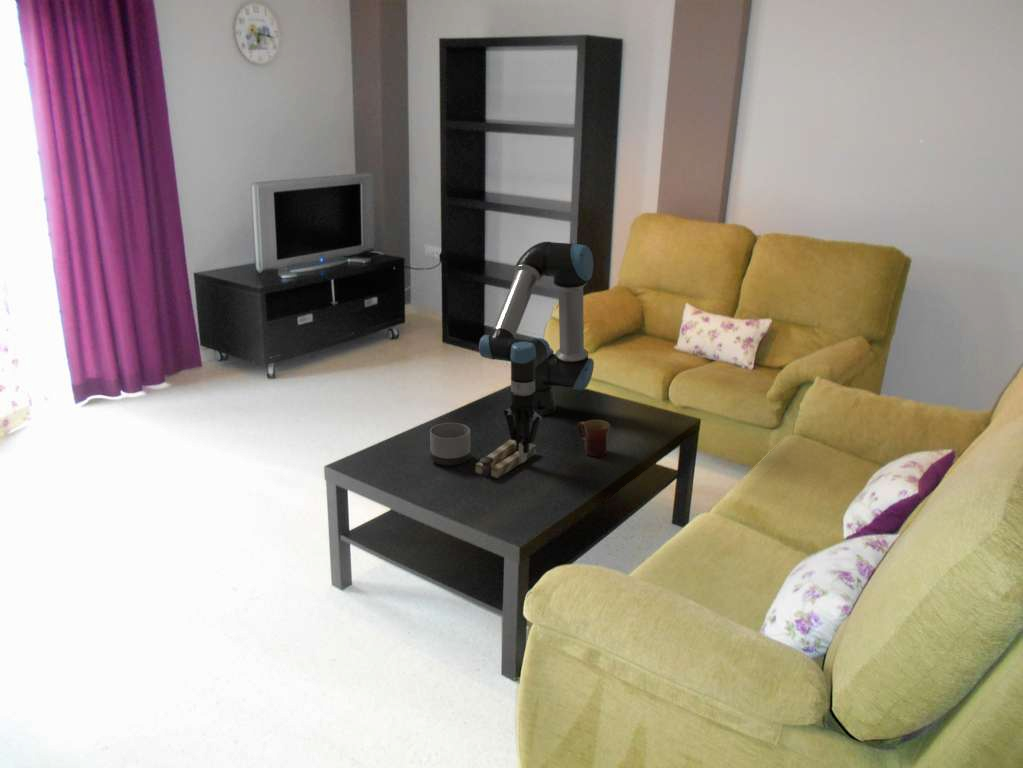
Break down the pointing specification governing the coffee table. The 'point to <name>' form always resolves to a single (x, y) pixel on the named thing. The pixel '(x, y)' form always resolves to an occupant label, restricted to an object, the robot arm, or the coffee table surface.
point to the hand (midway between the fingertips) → (522, 461)
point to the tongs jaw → (510, 462)
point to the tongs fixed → (495, 458)
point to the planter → (450, 443)
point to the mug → (595, 436)
